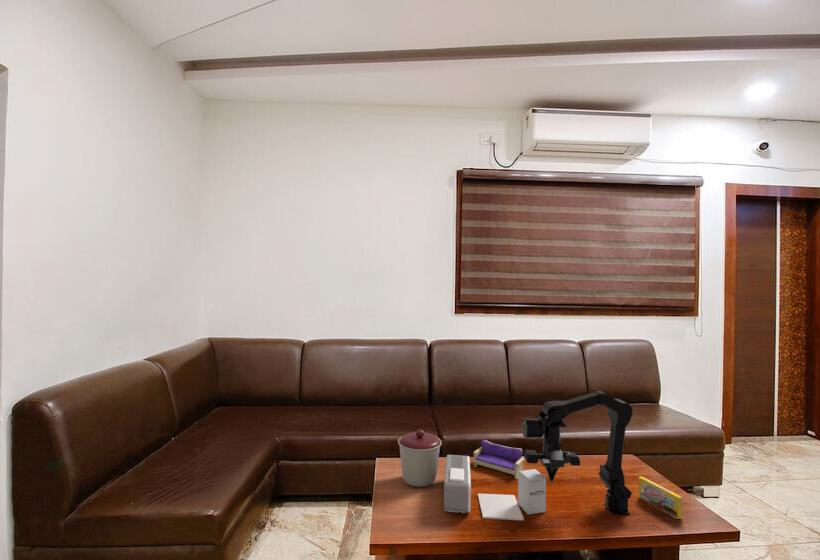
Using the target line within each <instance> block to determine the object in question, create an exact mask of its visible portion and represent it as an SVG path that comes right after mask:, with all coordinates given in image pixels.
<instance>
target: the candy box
mask: <svg viewBox="0 0 820 560" xmlns="http://www.w3.org/2000/svg"><path fill="white" fill-rule="evenodd" d="M638 498H639V499H640V498H641V500H642V499H643V500H642V501H644V500H645V501H644V502H646V501H647V502H648V503H647V502H646V503H647V504H649V503H650V504H649V505H651V504H652V505H651V506H653V505H654V506H655V507H654V506H653V507H654V508H656V507H657V508H656V509H658V508H659V509H658V510H660V509H661V510H663V511H665V512H667V513H668V514H670V515H672V516H674V517H676V518H677V519H682V520H683V501H682V500H683V497H682V496H681V495H679V494H677V493H676V492H673V491H672V490H669V489H667V488H665V487H663V486H661V485H660V484H657V483H656V482H654V481H652V480H649V479H648V478H646V477H644V476H642V475H641V476H638ZM661 510H660V511H661ZM663 511H662V512H663ZM665 512H664V513H665ZM667 513H666V514H667ZM668 514H667V515H668ZM670 515H669V516H670ZM672 516H671V517H672ZM674 517H673V518H674ZM677 519H676V520H677Z"/></svg>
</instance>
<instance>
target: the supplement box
mask: <svg viewBox="0 0 820 560" xmlns="http://www.w3.org/2000/svg"><path fill="white" fill-rule="evenodd" d="M546 500H547V477H546V476H545V475H544V474H543V473H541V472H540V471H538V470H537V469H536V468H534V469H526V470H525V469H523V471H518V478H517V503H518V505H519V508H521V509H522V511H524V512H525V513H526V515H528V516H529V515H533V514H540V513H542V514H543V513H546V511H547V509H546V508H547V501H546Z"/></svg>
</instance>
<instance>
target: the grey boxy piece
mask: <svg viewBox="0 0 820 560" xmlns="http://www.w3.org/2000/svg"><path fill="white" fill-rule="evenodd" d="M445 460H446V461H445V469H444V470H445V472H444V483H443V484H444V485H443V510H444V511H445V512H447V511H448V512H451V513H459V512H461V513H462V514H466V513H470V512H471V507H472V506H471V503H472V502H471V500H472V499H471V498H472V497H471V496H472V483H471V482H472V481H471V466H470V465H471V461H470V460H471V459H470V456H469V455H458V454H457V455H455V454H447V455H446V459H445Z"/></svg>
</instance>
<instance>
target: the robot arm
mask: <svg viewBox="0 0 820 560" xmlns="http://www.w3.org/2000/svg"><path fill="white" fill-rule="evenodd" d="M599 405H603V406H605V407H606V408H607V410H608V412H607V413H608V417H609V421H610V431H609V440H608V448H607V456H606V462H605V463H604V464H599V472H598V476H599V478H600V479H599V480H601V482H602V483H603V484H604V486H605V487H606V494H605V503H604V506H605V507H606V508H607V509H608V510H609V512H610V513H611V514H613V515H631V512H630V511H629V499H631V497H632V494H633V493H632V491H631V490H630V489H629V488H628V487H626V485H625V474H624V470H623V468H622V463H623V462H622V461H623V454H624V447H625V446H624V444H625V437H626V428H627V427H628V425H629V424H630V422H631V420H632V417H633V414H634V413H633V412H634V409H633V407H632V406H631V404H629V403H627V402H625V401H624V400H621V399H620V398H612V397H610V396H608V395H607V394H606V393H605V392H603V391H602V390H601V391H600V390H595V391H593V392H589V393H587V394H584V395H581V396H577V397H576V396H575V397H573V398H570V399H567V400H550V401H545V402H544V403H543V405H542V407H541V410H540V411H539V412H538V414H537V415H536V417H535V418H530V417H524V421H523V422H522V424H521V428H522V429H521V430H522V436H523V437H524V439H541V438H542V441H543V445H542V446H543V448H542V452H543V453H538V452H537V451H536V450H535V449H525V450H524V452H523V457H524V460H525V461H526V463H527V464H537V463H539V462H540V463H541V464H542V466H543V467H545V471H546V474H547V477H548V480H549V482H551V483H552V482H553V481H554V478H555V477H556V475H557V472H558V470H559V469H560V468H564V467H565V464H570V465H571V466H578V467H579V466H581V459H580V457H579V456H578V455H577V454H576V453H575V451H563V449H562V444H561V428H567V425H566V423H565V422H564V421H563V420H565V418H567V417H569V415H570V414H573V413H575V412H576V413H577V412H579V411H582V410H585V409H589V408H593V407H596V406H599Z"/></svg>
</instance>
